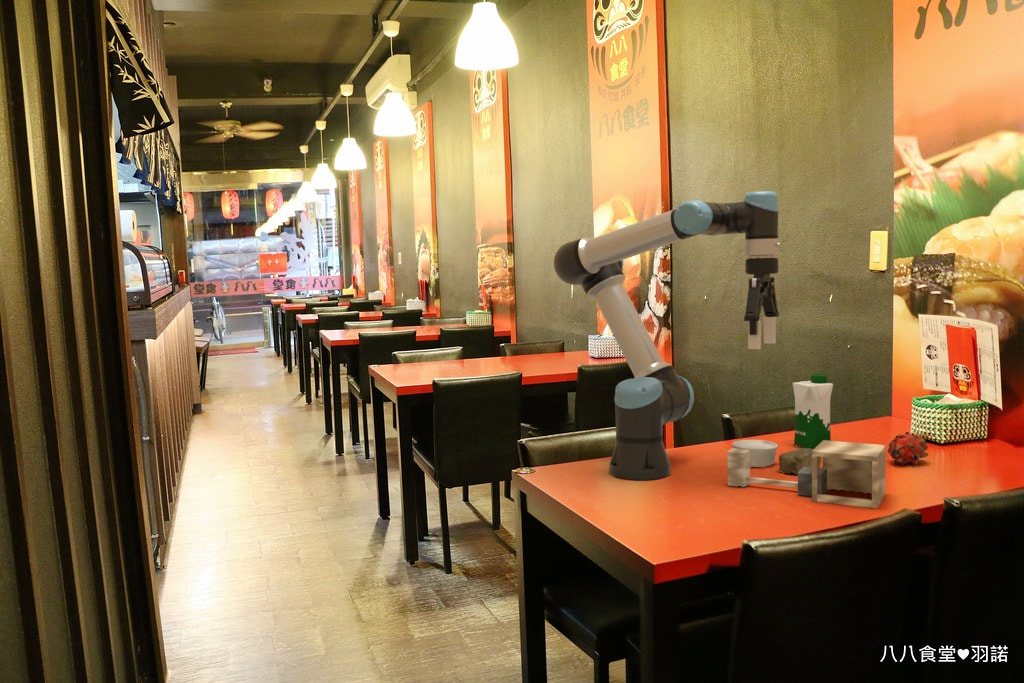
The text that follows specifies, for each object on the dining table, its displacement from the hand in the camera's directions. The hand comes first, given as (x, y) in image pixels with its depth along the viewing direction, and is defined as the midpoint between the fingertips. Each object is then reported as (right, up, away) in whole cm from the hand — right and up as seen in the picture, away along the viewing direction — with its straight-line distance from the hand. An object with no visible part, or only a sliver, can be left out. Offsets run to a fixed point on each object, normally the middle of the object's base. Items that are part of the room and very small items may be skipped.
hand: (762, 346), depth 195 cm
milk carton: (+23, -28, +31) cm, 48 cm away
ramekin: (+3, -31, +15) cm, 34 cm away
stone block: (+11, -31, +7) cm, 34 cm away
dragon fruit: (+39, -30, +10) cm, 50 cm away
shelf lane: (+13, -33, -17) cm, 40 cm away
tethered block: (0, -32, -9) cm, 34 cm away
